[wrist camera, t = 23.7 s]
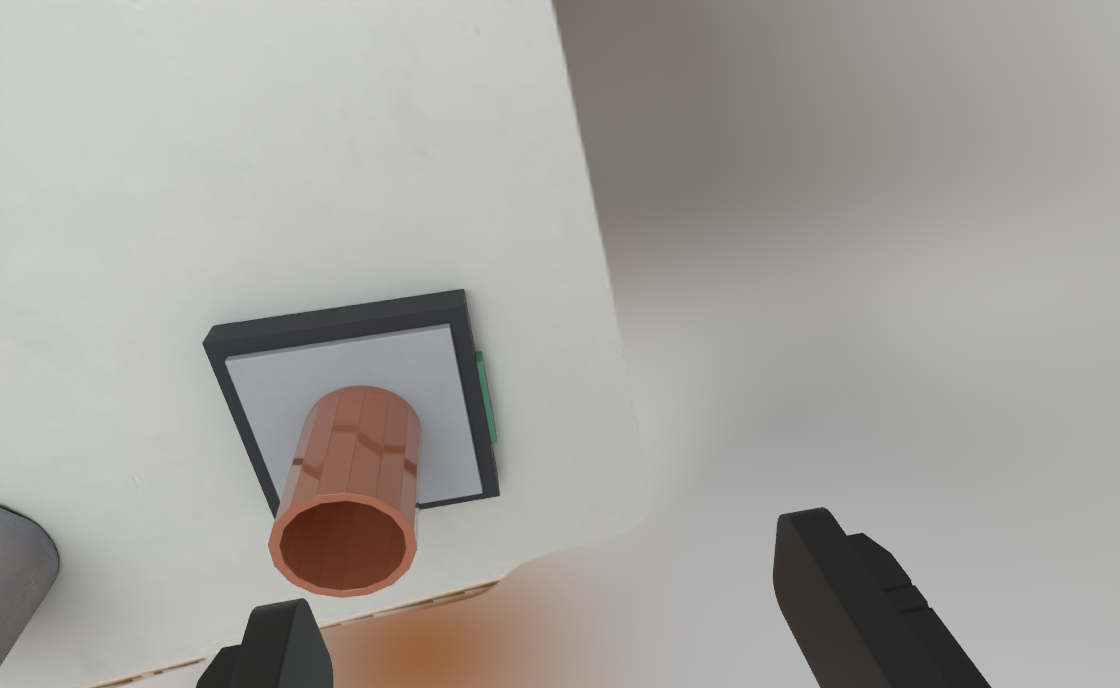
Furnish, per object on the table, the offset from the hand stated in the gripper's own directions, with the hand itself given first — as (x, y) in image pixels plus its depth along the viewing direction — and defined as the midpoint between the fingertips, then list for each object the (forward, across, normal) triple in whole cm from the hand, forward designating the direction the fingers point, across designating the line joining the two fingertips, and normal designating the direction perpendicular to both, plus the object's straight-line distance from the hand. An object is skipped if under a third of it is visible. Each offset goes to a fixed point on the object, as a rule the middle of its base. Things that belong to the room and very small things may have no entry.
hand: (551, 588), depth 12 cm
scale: (+28, +9, +14) cm, 33 cm away
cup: (+26, +9, +14) cm, 30 cm away
